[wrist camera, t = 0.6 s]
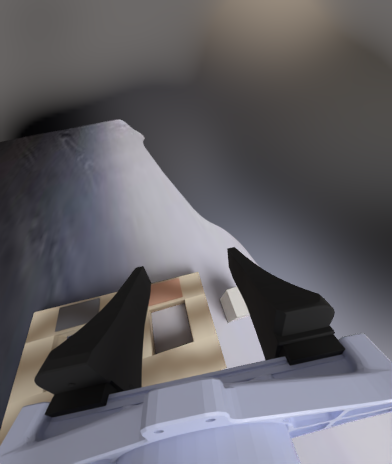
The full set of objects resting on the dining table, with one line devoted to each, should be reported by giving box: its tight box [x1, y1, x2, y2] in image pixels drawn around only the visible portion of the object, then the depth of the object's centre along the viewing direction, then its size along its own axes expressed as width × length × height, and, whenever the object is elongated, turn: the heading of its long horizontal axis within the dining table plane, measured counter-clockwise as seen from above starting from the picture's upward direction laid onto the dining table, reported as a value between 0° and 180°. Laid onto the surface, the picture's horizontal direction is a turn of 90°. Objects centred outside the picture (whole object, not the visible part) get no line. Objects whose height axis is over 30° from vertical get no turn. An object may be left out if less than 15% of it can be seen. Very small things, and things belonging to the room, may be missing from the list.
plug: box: [220, 287, 250, 323], centre depth 26 cm, size 4×4×6 cm
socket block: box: [0, 272, 227, 445], centre depth 24 cm, size 14×26×3 cm, turn 105°
